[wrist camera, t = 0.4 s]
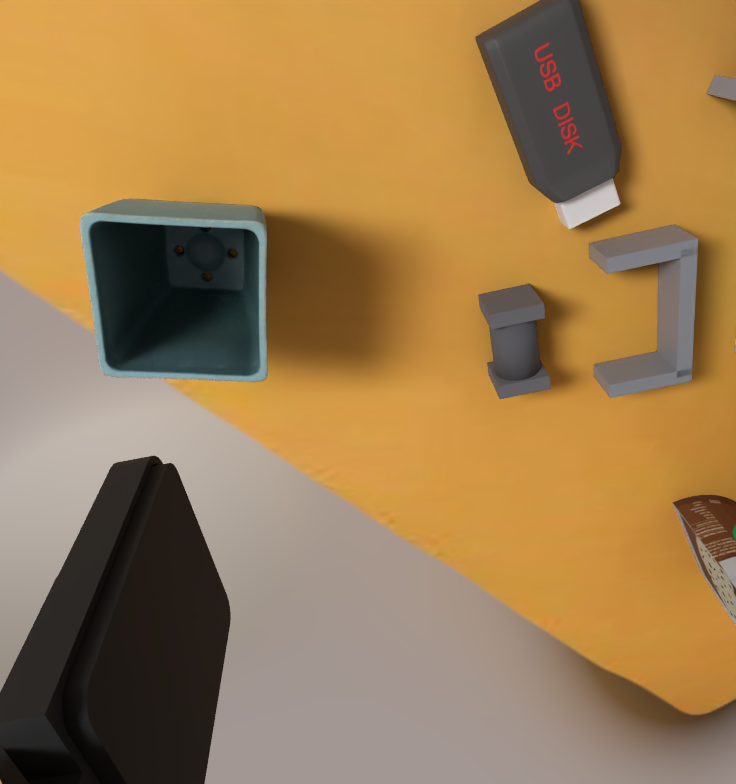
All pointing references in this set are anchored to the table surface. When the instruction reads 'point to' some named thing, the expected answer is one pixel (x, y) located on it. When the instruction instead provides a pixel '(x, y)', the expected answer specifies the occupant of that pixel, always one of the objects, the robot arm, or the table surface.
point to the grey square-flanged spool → (515, 340)
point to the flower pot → (178, 289)
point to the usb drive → (556, 106)
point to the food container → (713, 542)
